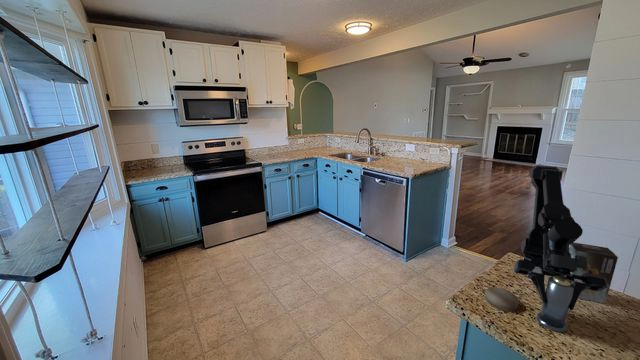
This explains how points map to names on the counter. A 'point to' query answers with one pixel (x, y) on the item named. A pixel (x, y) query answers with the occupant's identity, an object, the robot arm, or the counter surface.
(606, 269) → the coffee box
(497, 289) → the stand
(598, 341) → the counter surface
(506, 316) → the counter surface
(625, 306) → the counter surface
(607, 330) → the counter surface
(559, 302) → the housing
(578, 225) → the robot arm
